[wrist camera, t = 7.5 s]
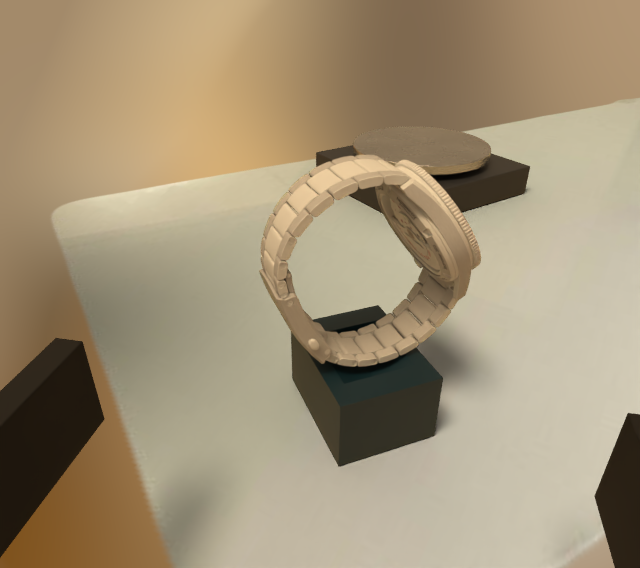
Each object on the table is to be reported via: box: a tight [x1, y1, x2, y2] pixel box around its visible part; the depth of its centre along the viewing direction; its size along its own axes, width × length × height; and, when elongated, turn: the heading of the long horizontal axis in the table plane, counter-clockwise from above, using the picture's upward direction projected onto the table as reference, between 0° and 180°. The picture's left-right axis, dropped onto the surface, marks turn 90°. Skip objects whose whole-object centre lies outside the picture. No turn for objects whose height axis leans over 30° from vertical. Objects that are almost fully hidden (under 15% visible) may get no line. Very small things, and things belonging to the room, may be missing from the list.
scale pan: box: [353, 127, 491, 175], centre depth 46 cm, size 12×12×1 cm
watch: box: [259, 155, 481, 466], centre depth 21 cm, size 6×8×11 cm
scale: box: [316, 145, 530, 213], centre depth 47 cm, size 13×13×2 cm
